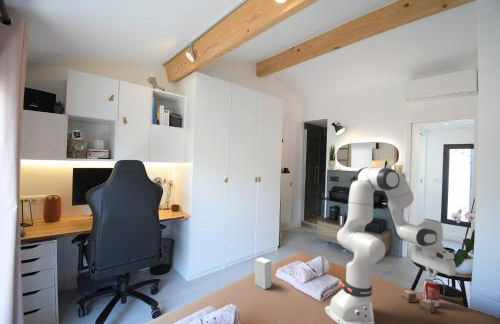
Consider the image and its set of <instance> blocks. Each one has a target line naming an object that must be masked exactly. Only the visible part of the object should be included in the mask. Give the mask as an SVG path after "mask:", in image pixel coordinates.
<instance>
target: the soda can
mask: <svg viewBox="0 0 500 324" xmlns="http://www.w3.org/2000/svg"><path fill="white" fill-rule="evenodd" d="M422 286H423V288H422V289H423V291H422V294H423V296H422V298H425V299H428V300H430V301H433V302H434V308H439V307H440V288H441V287H440V285H439V281H436V280H435V279H431V278H430V279H429V278H425V280H424V281H423V285H422Z"/></svg>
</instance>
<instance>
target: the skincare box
mask: <svg viewBox="0 0 500 324" xmlns="http://www.w3.org/2000/svg"><path fill="white" fill-rule="evenodd" d="M254 285H255V286H258V287H259V288H261V289H264V290H266V289H268V288H271V287H272V260H270V259H267V258H264V257H262V256H260V257H257V258H256V259H254Z"/></svg>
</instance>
